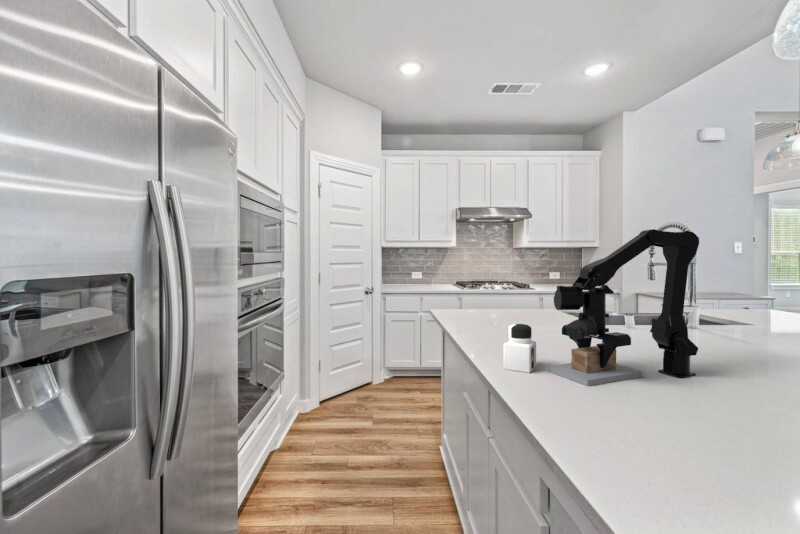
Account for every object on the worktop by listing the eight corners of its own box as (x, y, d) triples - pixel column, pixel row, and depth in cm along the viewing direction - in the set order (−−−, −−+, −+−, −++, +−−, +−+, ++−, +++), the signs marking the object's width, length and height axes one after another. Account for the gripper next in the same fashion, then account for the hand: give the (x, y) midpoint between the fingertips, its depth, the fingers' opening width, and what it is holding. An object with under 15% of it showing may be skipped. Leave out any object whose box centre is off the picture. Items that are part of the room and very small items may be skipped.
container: (536, 366, 117) (536, 323, 117) (529, 373, 111) (529, 327, 110) (510, 363, 121) (510, 321, 121) (503, 369, 115) (502, 325, 114)
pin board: (599, 363, 120) (599, 347, 119) (642, 376, 107) (642, 358, 106) (547, 371, 112) (547, 354, 112) (587, 386, 99) (587, 366, 99)
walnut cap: (599, 364, 114) (599, 345, 114) (616, 369, 109) (616, 349, 109) (571, 368, 110) (571, 349, 110) (587, 373, 105) (587, 353, 105)
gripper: (547, 307, 115) (547, 360, 115) (601, 316, 97) (600, 378, 98) (576, 305, 119) (576, 356, 119) (632, 313, 101) (632, 372, 102)
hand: (593, 365), depth 109 cm, fingers closed on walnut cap, 5 cm apart
